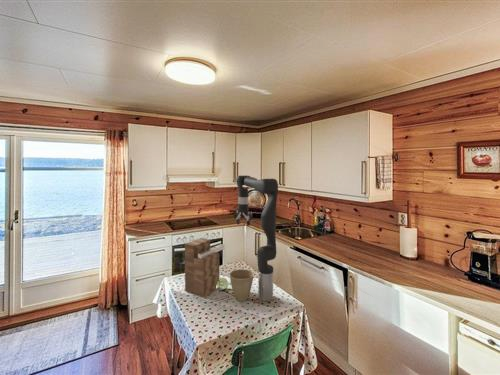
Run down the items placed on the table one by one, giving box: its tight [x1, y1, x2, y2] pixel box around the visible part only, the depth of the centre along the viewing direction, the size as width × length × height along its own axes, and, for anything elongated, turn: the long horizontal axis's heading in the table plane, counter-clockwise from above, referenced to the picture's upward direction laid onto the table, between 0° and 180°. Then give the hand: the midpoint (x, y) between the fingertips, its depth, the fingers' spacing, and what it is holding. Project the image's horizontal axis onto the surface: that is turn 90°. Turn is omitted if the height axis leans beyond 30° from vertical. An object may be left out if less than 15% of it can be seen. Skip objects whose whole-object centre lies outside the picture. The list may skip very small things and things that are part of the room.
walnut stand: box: [184, 237, 220, 299], centre depth 165 cm, size 16×16×32 cm
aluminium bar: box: [198, 243, 225, 259], centre depth 166 cm, size 24×3×3 cm, turn 149°
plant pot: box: [229, 268, 255, 303], centre depth 154 cm, size 15×15×16 cm
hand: (243, 225), depth 180 cm, fingers open, 8 cm apart
